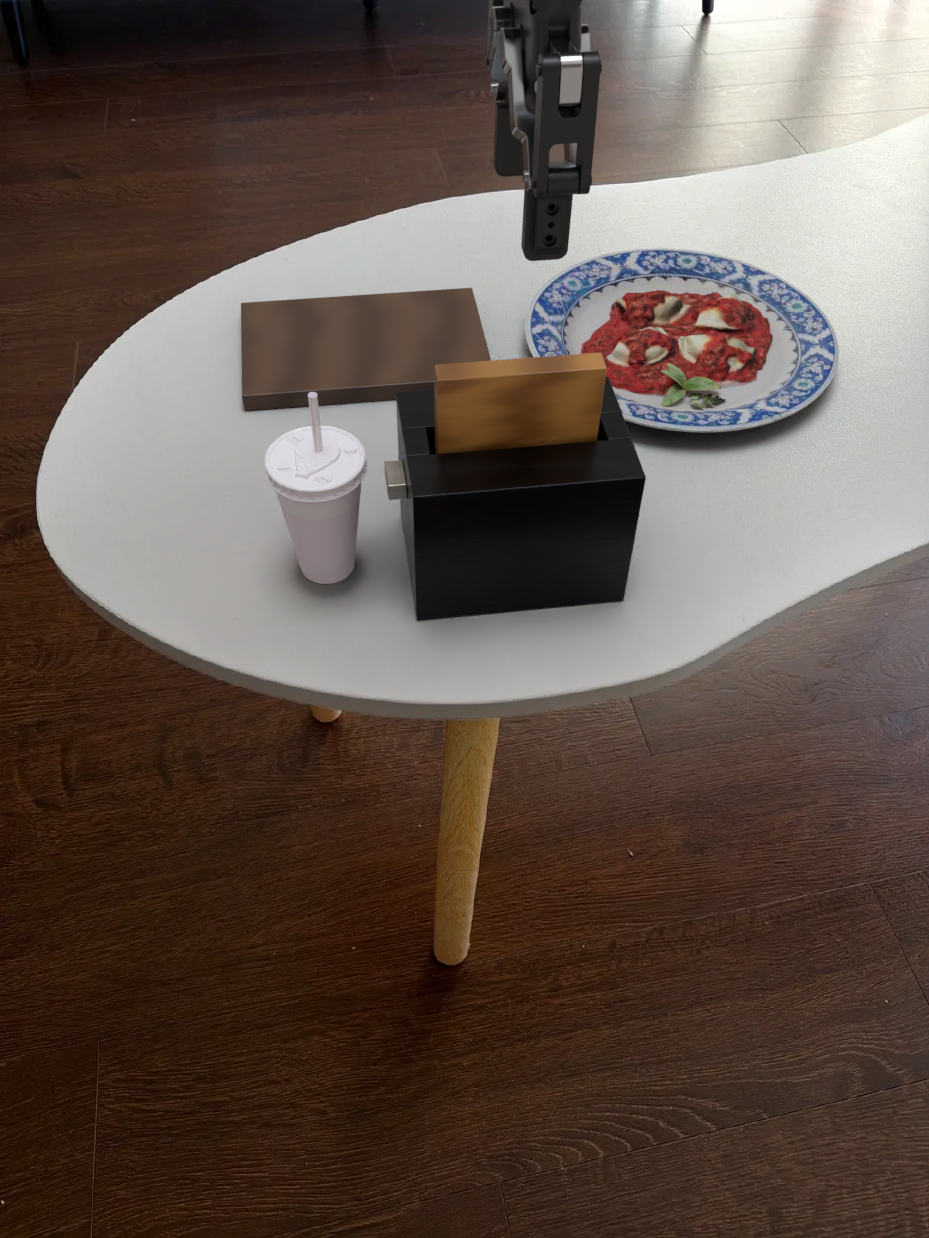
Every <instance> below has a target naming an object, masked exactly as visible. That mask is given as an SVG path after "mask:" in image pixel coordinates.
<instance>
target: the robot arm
mask: <svg viewBox="0 0 929 1238" xmlns="http://www.w3.org/2000/svg"><path fill="white" fill-rule="evenodd" d="M582 3H583V0H488V15H487V37H486V38H487V40H486V41H487V42H486V46H487V47H486V55H485V56H484V64H485V67H486V68H487V69H486V70H487V73H488V74H490V78H491V82H490V84H489V92H490V94H492V100H493V102H495V107H494V108H495V109H494V137H493V167H494V169H495V172H496V174H497V175H498V176H500V177H503V178H505V177H522V183H524V191H523V209H522V225H521V227H522V228H521V244H520V245H521V250H522V254H523V256H524V258H525V260H527V261H529V262H540V261H552V260H554V261H555V260H561V259H563V258H564V257H565V256H566V255H567V254H568V250H569V242H570V230H571V218H572V211H573V210H572V209H573V198H574V195H588V194H589V193H590V191H591V186H592V185H593V175H592V171H593V161H594V148H595V138H596V126H597V114H598V104H599V102H598V101H599V90H600V81H601V80H600V79H601V78H600V77H601V74H602V71H603V63H602V60H601V55H600V52H599V51H598V50H592V49H591V48H592V47H591V30H590V26H589V24H588V23H582V9H581V7H582ZM555 145H563V156H564V157H563V158H564V159H563V160H553V161H551V160H550V151H551V149H552V147H553V146H555Z"/></svg>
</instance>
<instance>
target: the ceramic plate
mask: <svg viewBox="0 0 929 1238" xmlns="http://www.w3.org/2000/svg"><path fill="white" fill-rule="evenodd" d="M524 335H525V336H524V337H525V342H526V345H527V347H528V351H529V353H530V355H531V356H532V357H531V358H533V357H547V356H560V355H574V354H588V353H601V354H602V357H603V360H604V362H605V365H606V368H607V371H606V377H609V379H610V382H611V385H612V387H613V390H614V393H615V395H616V398H617V401H618V404H619V406H620V409H621V412H622V415H623V417H624V420H625V422H629V423H631V424H636V425H638V426H639V425H640V426H643V427H649V428H653V429H659V430H666V431H674V432H686V433H726V432H734V431H741V430H747V429H754V428H757V427H761V426H765V425H769V424H773V423H776V422H777V421H778V422H779V421H780V420H782V419H785V418H787V417H790V416H793V415H795V414H796V413H798V412H800V411H801V410H803V409H805V408H806V407H808V406H809V405H810V404H812V403H813V402H815V401H816V400H817V398H819V397H820V396H821V395H822V394H823V393H824V391H825V390H826V389H827V387H828V386H829V385H830V384H831V382H832V380H833V379H834V376H835V374H836V372H837V368H838V365H839V360H840V345H839V341H838V337H837V334H836V332H835V329H834V327H833V325H832V323H831V320H830V319H829V317H828V316H827V315H826V314H825V313H824V312H823V310H822V309H821V308H820V307H819V305H818V304H817V303H816V302H815V301H814V300H813V299H811V297H809V295H807V294H806V293H805V292H803V291H802V290H800V289H799V288H797V287H796V286H794V285H793V284H791V283H790V282H788V281H787V280H785V279H784V278H781V276H779V275H777V274H774V273H772V272H770V271H767V270H765V269H763V268H761V267H759V266H756V265H753V264H751V263H748V262H745V261H743V260H739V259H736V258H732V257H728V256H724V255H720V254H716V253H710V252H705V251H701V250H700V251H699V250H693V249H682V248H667V247H659V248H635V249H628V250H622V251H615V252H609V253H603V254H600V255H598V256H593V257H591V258H588V259H585V260H582V261H580V262H578V263H575V264H573V265H571V266H568V267H566V268H565V269H562V270H561V271H560V272H558V273H556V274H555V275H554V276H552V277H551V278H549V280H547V281H546V282H545V283H543V285H542V286H541V287H540V288H539V289H538V290H537V292H536V293H535V294H534V295H533V297H532V298H531V300H530V302H529V304H528V307H527V310H526V312H525V317H524Z"/></svg>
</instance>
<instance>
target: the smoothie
mask: <svg viewBox="0 0 929 1238" xmlns="http://www.w3.org/2000/svg"><path fill="white" fill-rule="evenodd" d="M308 401H309V406H308V408H309V417H310V425H307V426H301V427H298V428H293V429H292V430H289V431H287V432H285V433H284V434H282V435H280V436H278V437H277V438H275V440H273V442H272V443H270V445H269V447H268V448H267V450H266V452H265V455H264V475H265V478H266V482H267V483H268V484H269V486H270V487H271V489H272V490H273V491H275V495H276V498H277V501H278V502H279V507H280V509H281V512H282V516H283V518H284V521H285V524H286V528H287V530H288V533H289V537H290V540H291V543H292V546H293V548H294V552H295V555H296V559H297V561H298V565H299V567H300V570H301V573H302V574H303V576H304V577H305V578H306V579H308V580H309V581H311V582H313V583H315V584H319V585H332V584H336V583H339V582H341V581H344V580H345V579H347V578H348V577H349V576H350V575H351V574H352V572H353V571H354V568H355V562H356V551H357V550H356V549H357V539H358V537H357V536H358V529H359V528H358V525H359V515H360V503H361V501H360V500H361V493H362V482H363V481H364V480H365V477H366V476H367V475H366V474H367V472H368V461H367V455H366V449H365V447H364V445H363V443H362V442H361V440H359V439H358V437H356V436H355V435H354V434H352V433H351V432H349V431H347V430H345V429H342V428H340V427H335V426H330V425H321V417H320V407H319V405H318V398H317V393H315V392H310V393H309V394H308Z"/></svg>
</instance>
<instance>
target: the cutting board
mask: <svg viewBox="0 0 929 1238" xmlns="http://www.w3.org/2000/svg"><path fill="white" fill-rule="evenodd" d="M486 339H487V338H486V336H485V332H484V328H483V324H482V320H481V317H480V313H479V309H478V305H477V301H476V298H475V294H474V291H473V287H461V288H459V287H458V288H446V289H445V288H444V289H443V288H442V289H432V290H431V289H429V290H415V291H414V290H413V291H399V292H384V293H369V294H354V295H353V294H352V295H339V296H338V295H337V296H323V297H311V298H310V297H309V298H308V297H307V298H294V299H279V300H278V299H277V300H264V301H263V300H262V301H247V302H240V345H241V346H240V350H241V355H240V357H241V399H242V405H243V410H244V411H245V412H249V411H261V410H262V411H263V410H274V409H277V410H278V409H288V408H303V407H309V401H308V394H309V393H310V392H315V393H317V398H318V406H328V405H340V404H341V405H342V404H354V403H355V404H356V403H366V402H368V403H369V402H380V401H393V400H395V401H396V393H398V392H411V391H424V390H435V380H434V366H435V365H437V364H451V363H464V362H478V361H492V359H491V355H490V351H489V347H488V343H487V340H486Z"/></svg>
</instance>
